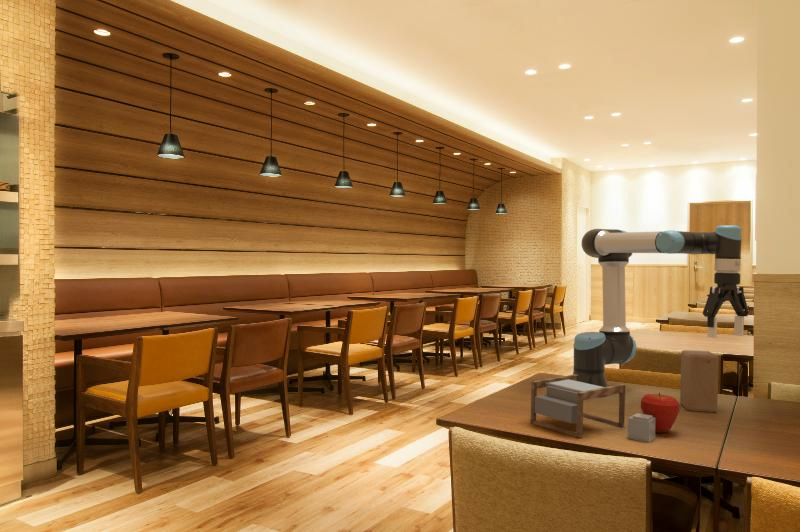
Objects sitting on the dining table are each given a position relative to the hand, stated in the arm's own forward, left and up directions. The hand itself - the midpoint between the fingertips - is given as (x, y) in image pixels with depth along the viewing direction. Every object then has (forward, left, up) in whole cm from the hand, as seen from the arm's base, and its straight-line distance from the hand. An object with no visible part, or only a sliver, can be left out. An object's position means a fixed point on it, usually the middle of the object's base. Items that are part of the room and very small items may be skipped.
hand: (725, 336), depth 193 cm
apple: (-4, -32, -28) cm, 42 cm away
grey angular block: (-22, -51, -24) cm, 60 cm away
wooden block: (-12, +7, -28) cm, 31 cm away
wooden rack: (-22, -47, -28) cm, 59 cm away
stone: (-3, -42, -28) cm, 50 cm away
